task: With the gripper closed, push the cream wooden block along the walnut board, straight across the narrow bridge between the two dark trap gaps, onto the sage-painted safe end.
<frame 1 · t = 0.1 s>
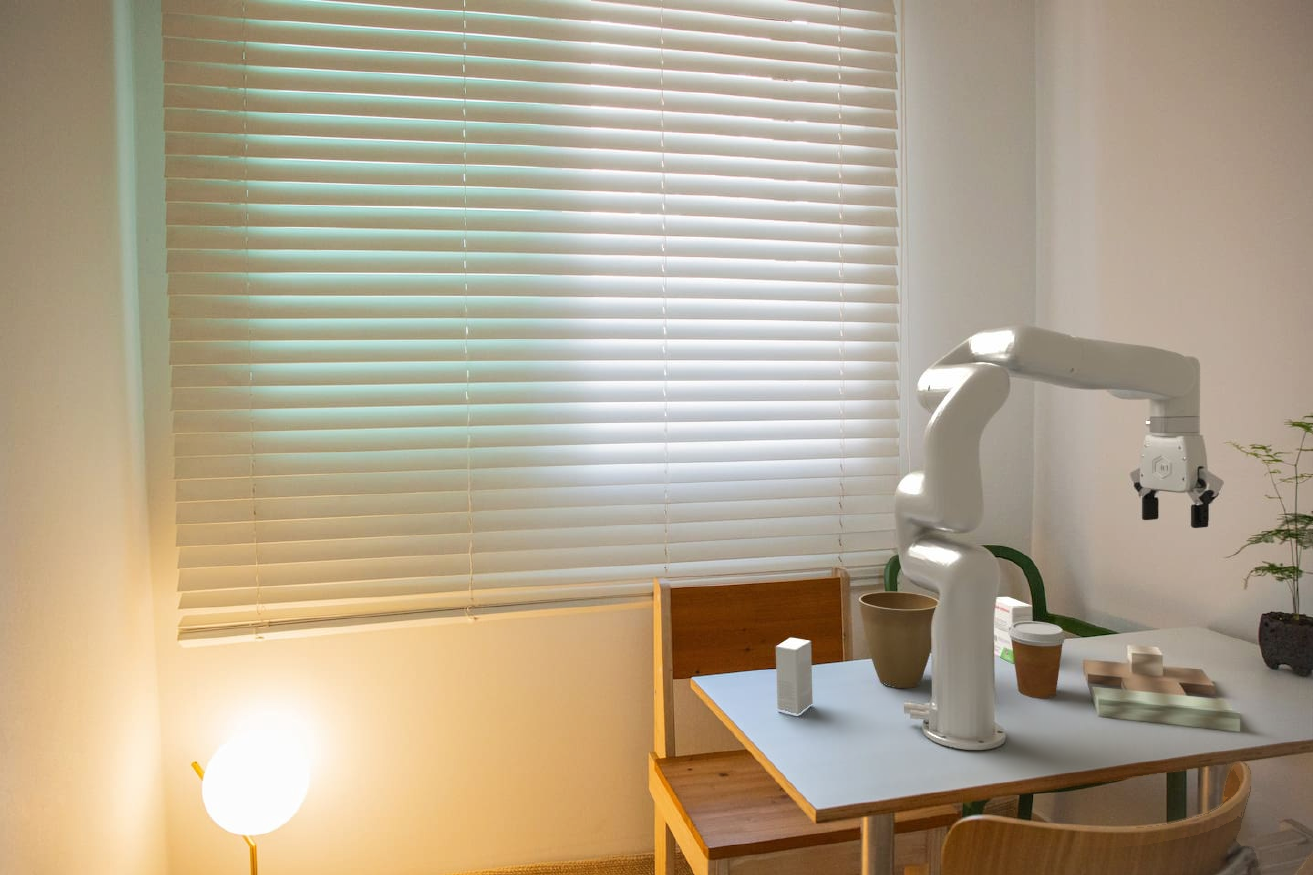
hand: (1174, 523, 144), 31 cm above the table, tool pointing down, fingers open, 9 cm apart
block: (1144, 670, 153), point 2 cm above the table, touching trap board
trap board: (1153, 697, 145), on the table
plant pot: (900, 682, 156), on the table
ink box: (1010, 657, 169), on the table
skincare box: (794, 710, 144), on the table
disposable coffee cup: (1036, 693, 149), on the table
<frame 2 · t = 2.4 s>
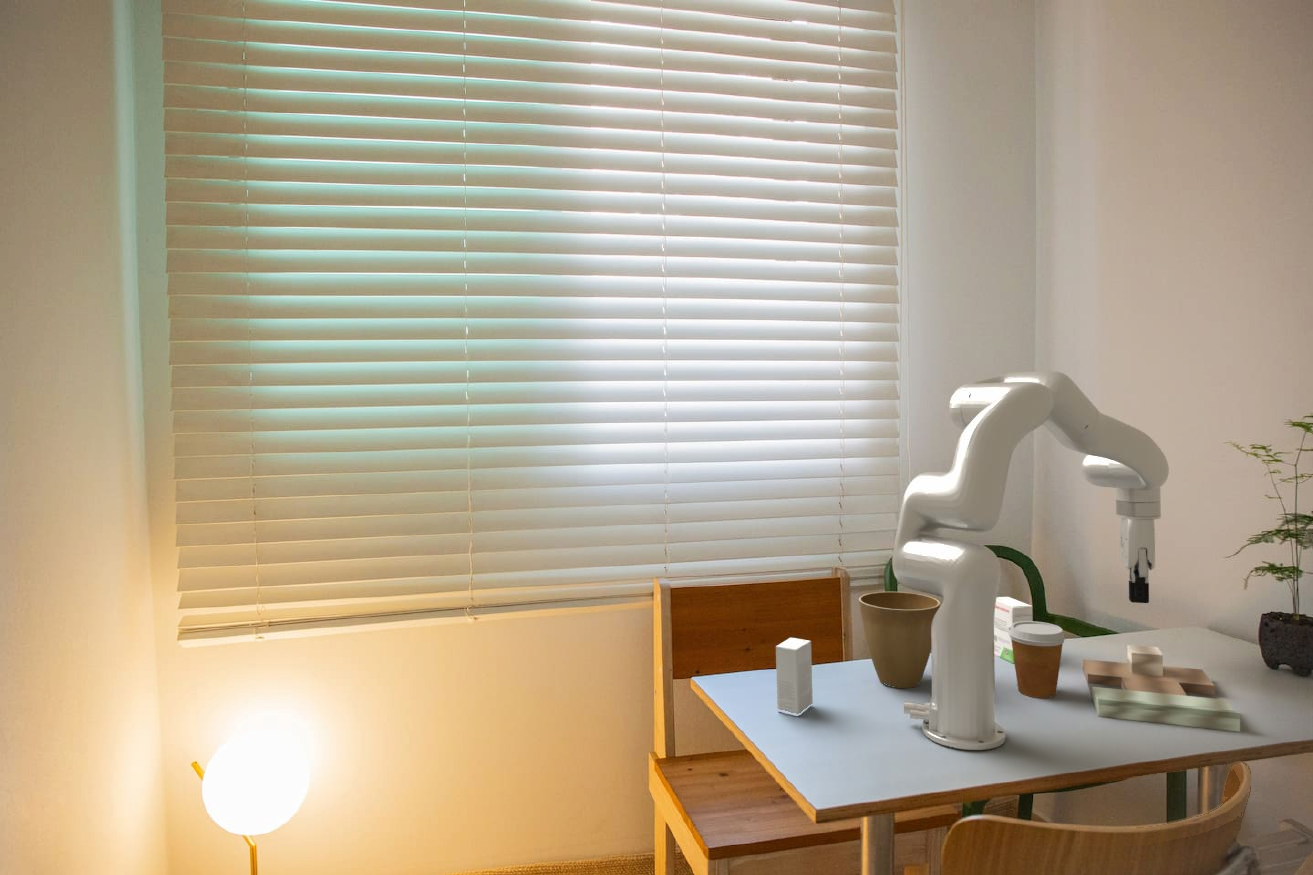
hand: (1138, 601, 160), 13 cm above the table, tool pointing down, fingers closed
nothing on the table moved.
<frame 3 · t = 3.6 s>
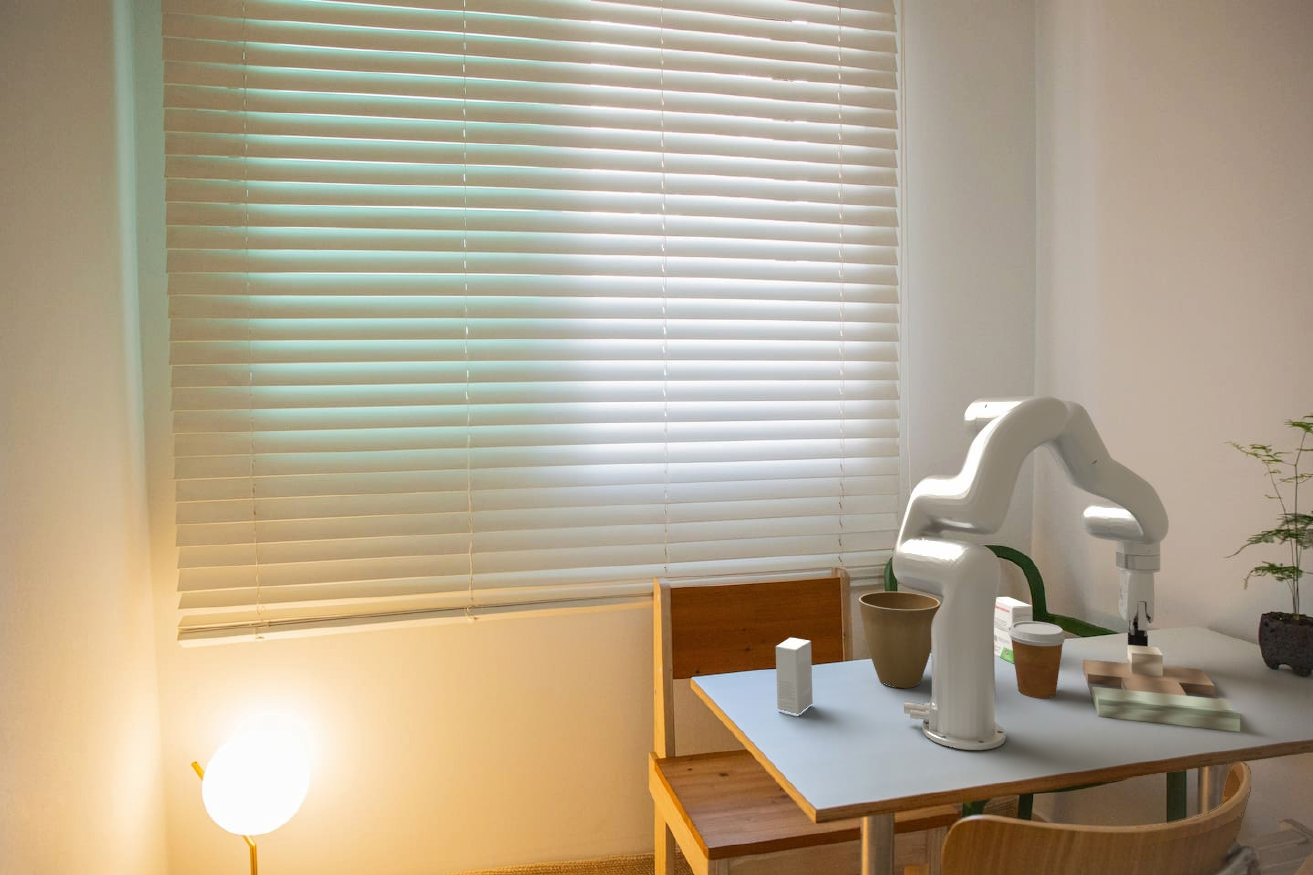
hand: (1137, 653, 160), 3 cm above the table, tool pointing down, fingers closed
nothing on the table moved.
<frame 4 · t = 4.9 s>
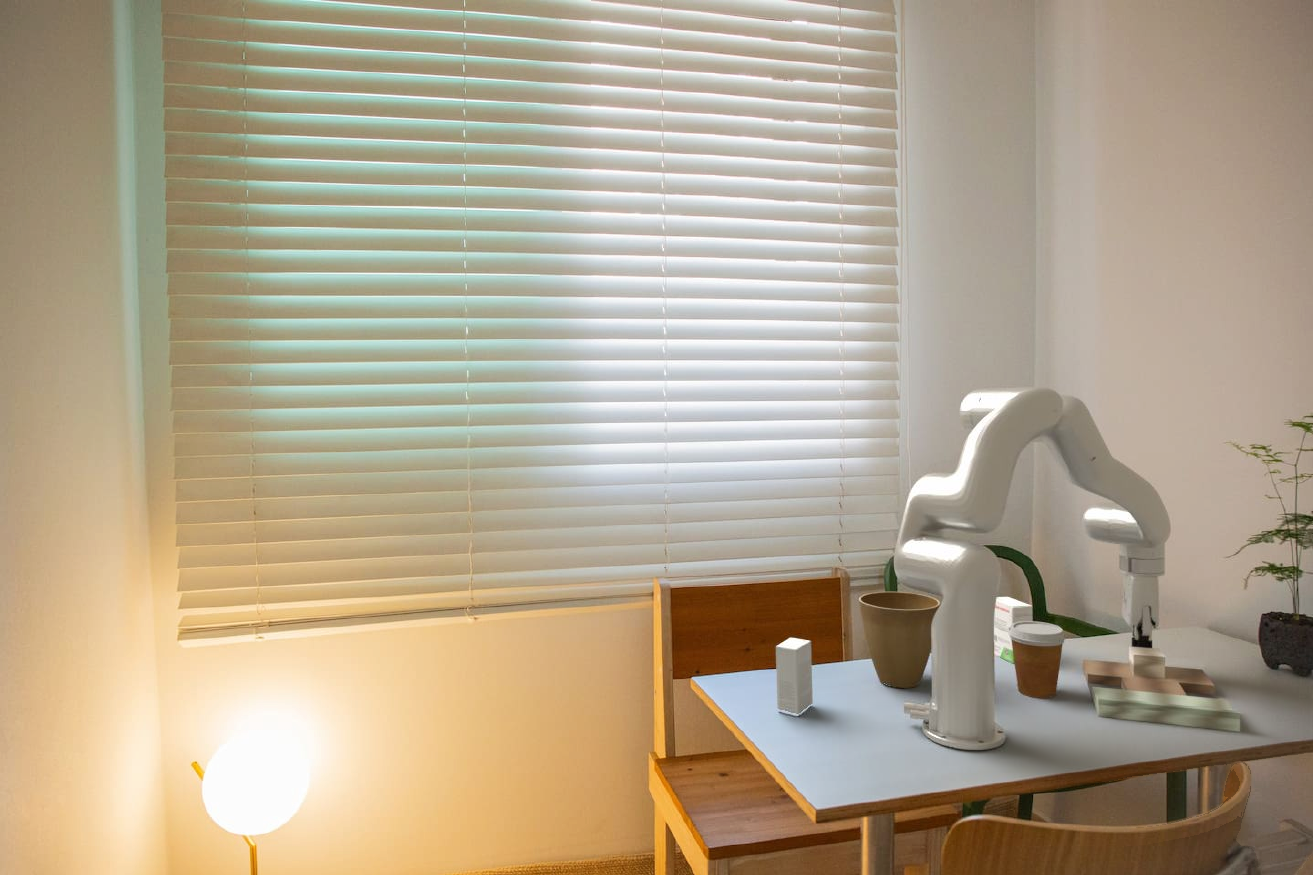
hand: (1141, 659, 156), 3 cm above the table, tool pointing down, fingers closed
block: (1146, 672, 152), point 2 cm above the table, touching gripper, trap board
everything else where it was.
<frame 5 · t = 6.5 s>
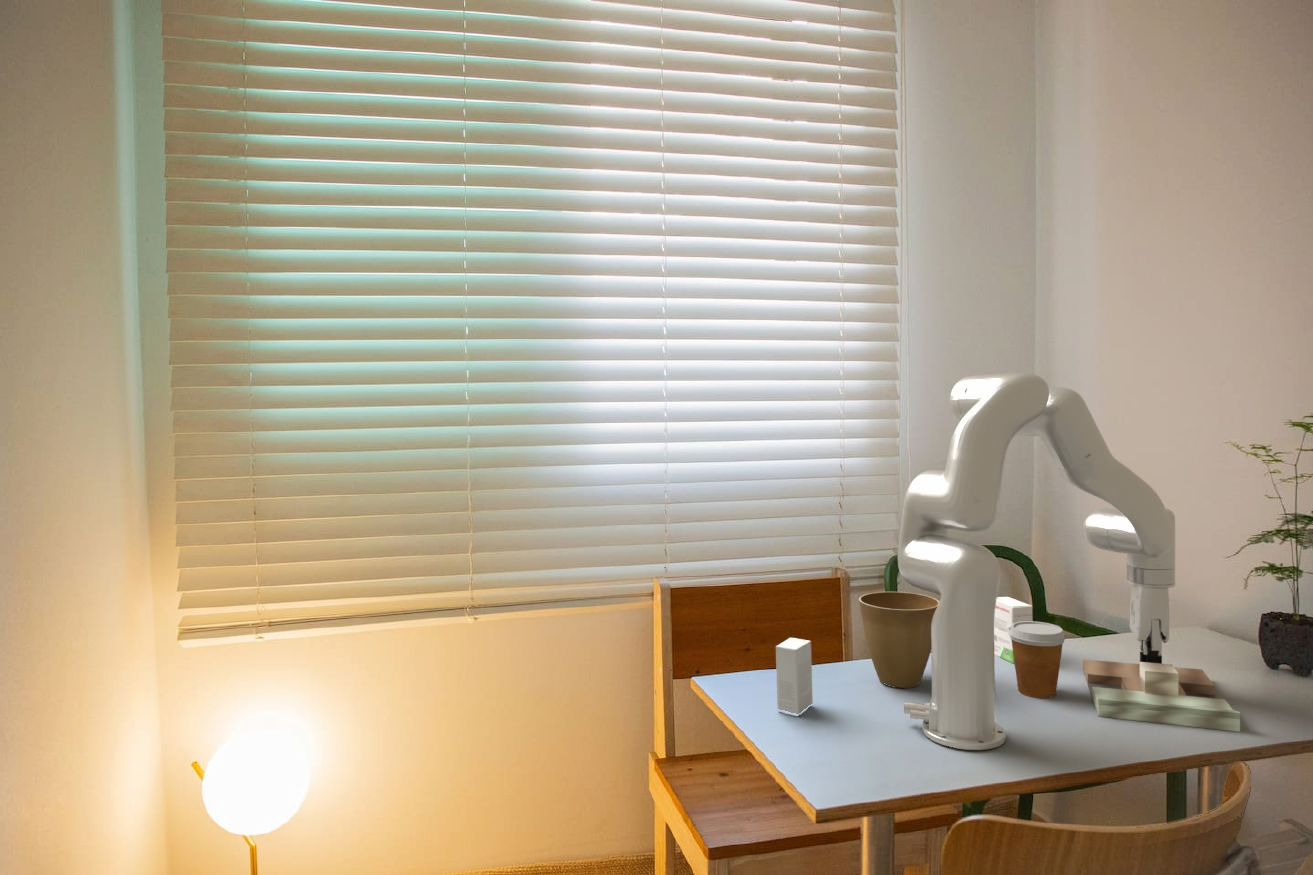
hand: (1150, 675, 148), 3 cm above the table, tool pointing down, fingers closed
block: (1158, 689, 143), point 2 cm above the table, touching gripper, trap board
everything else where it was.
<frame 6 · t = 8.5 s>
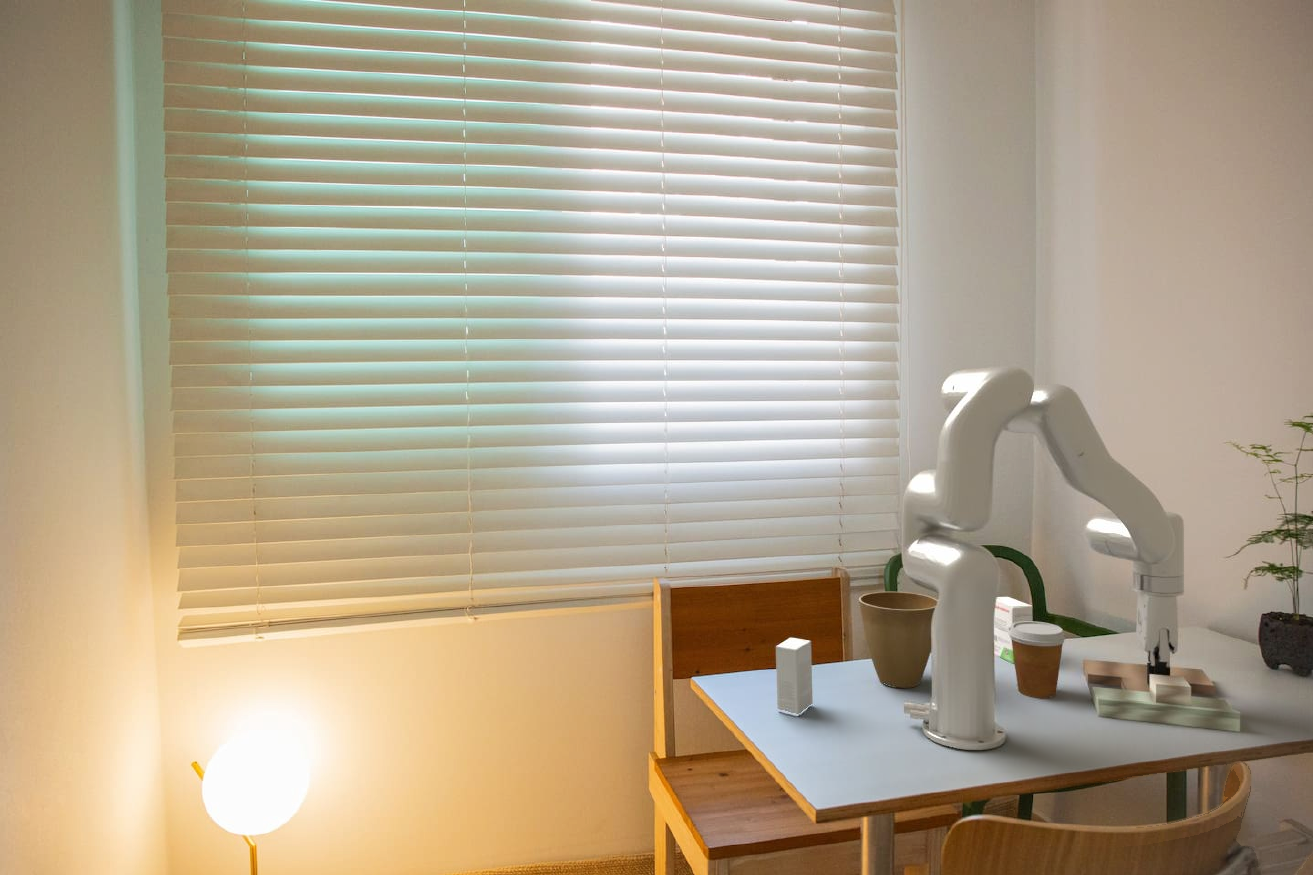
hand: (1158, 686, 141), 3 cm above the table, tool pointing down, fingers closed
block: (1169, 703, 137), point 2 cm above the table, touching gripper, trap board
everything else where it was.
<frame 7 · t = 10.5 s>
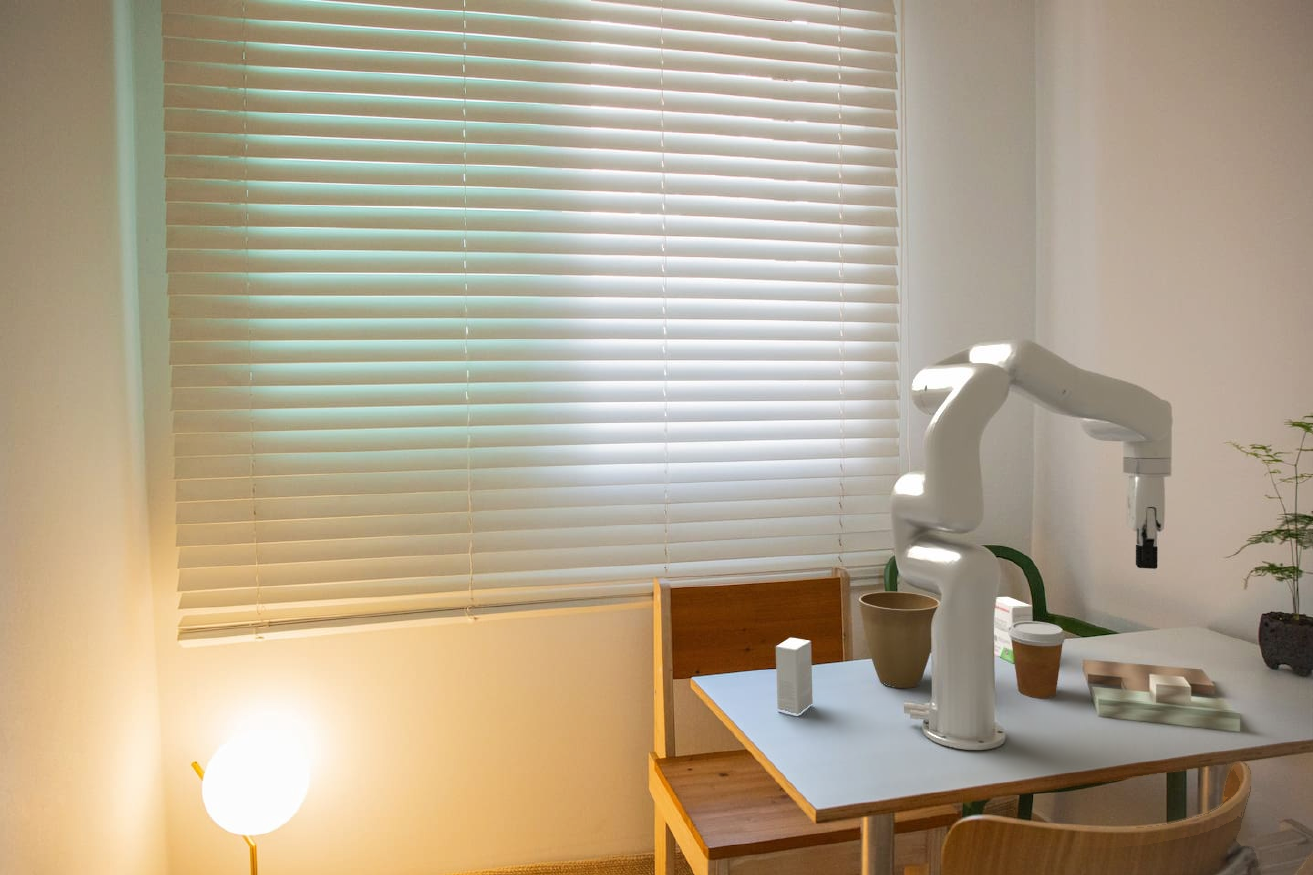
hand: (1146, 567, 148), 23 cm above the table, tool pointing down, fingers closed
block: (1169, 703, 137), point 2 cm above the table, touching trap board
everything else where it was.
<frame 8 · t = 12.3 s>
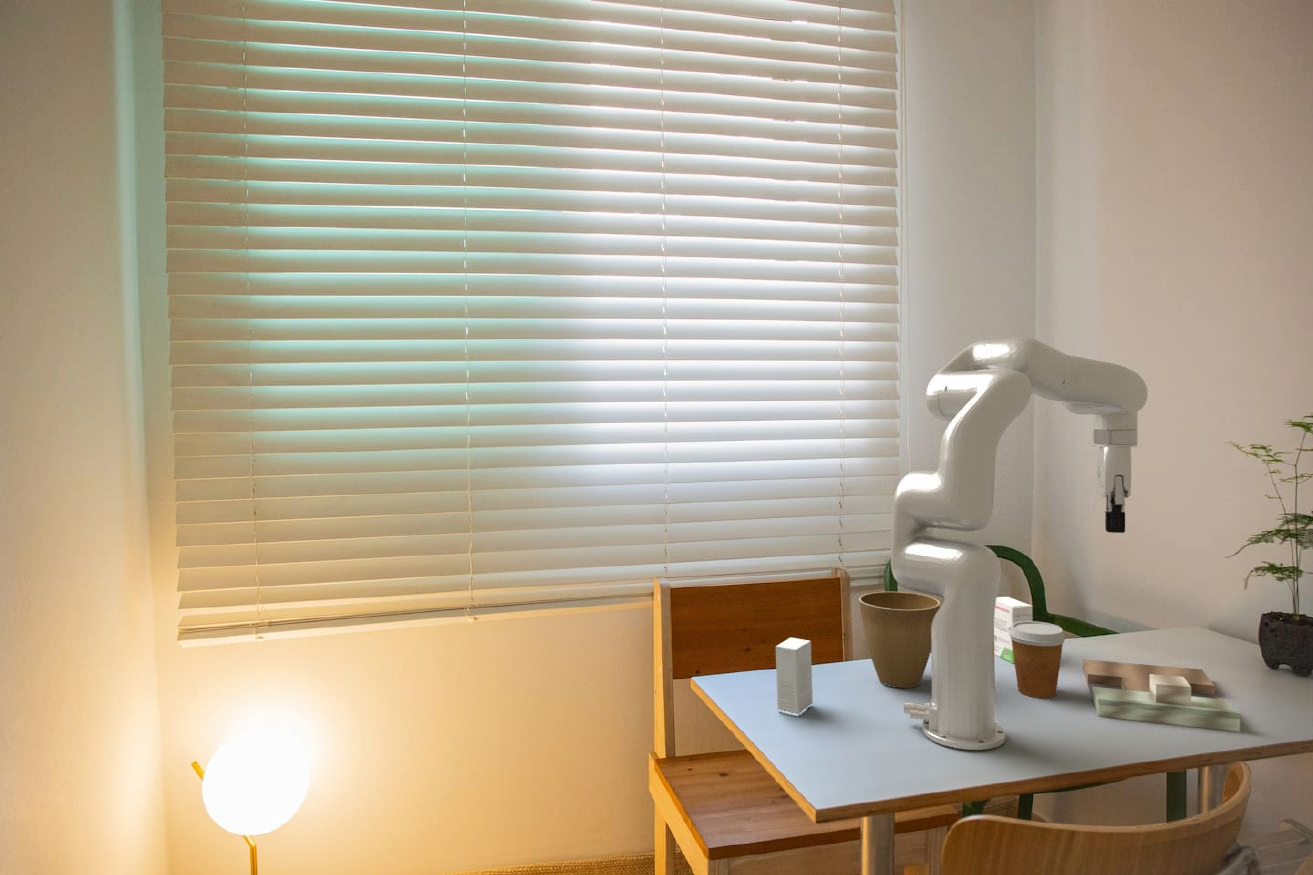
hand: (1115, 531, 160), 27 cm above the table, tool pointing down, fingers closed
nothing on the table moved.
at the end: block inside the target area (1.4 cm from its centre), point 2.0 cm above the table; block tilted 0° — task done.
